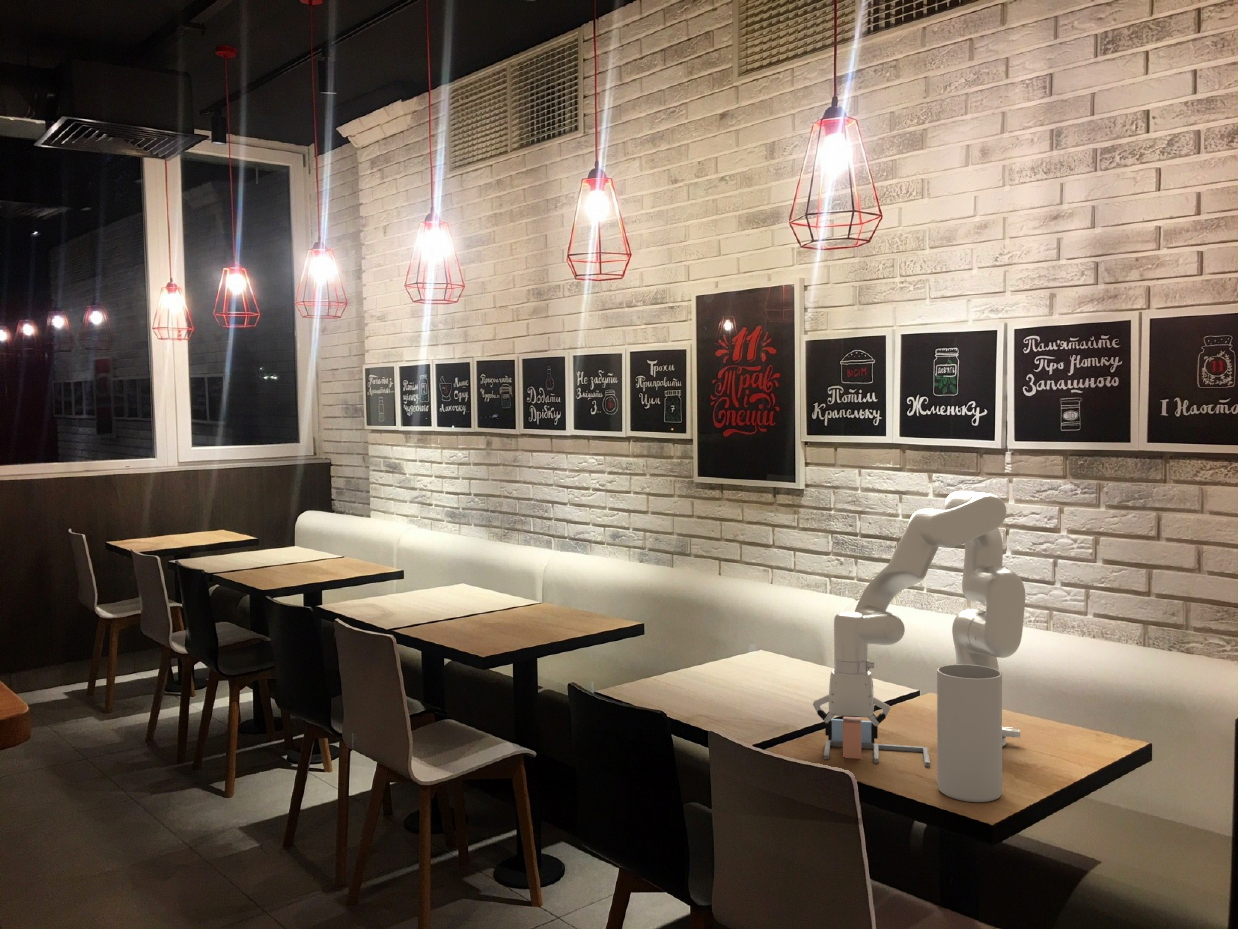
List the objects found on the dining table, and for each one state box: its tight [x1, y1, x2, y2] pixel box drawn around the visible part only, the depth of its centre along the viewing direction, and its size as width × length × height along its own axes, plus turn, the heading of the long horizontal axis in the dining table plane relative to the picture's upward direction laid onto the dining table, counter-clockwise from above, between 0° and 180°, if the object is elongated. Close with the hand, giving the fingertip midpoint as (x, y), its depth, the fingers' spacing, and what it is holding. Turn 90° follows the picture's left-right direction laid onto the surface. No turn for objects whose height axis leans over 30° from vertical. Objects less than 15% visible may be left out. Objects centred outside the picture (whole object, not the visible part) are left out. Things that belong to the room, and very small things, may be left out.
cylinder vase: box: [936, 663, 1003, 803], centre depth 199 cm, size 12×12×25 cm
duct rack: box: [823, 718, 931, 768], centre depth 223 cm, size 23×12×6 cm, turn 75°
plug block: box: [842, 716, 862, 760], centre depth 223 cm, size 4×5×8 cm
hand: (851, 740), depth 223 cm, fingers open, 9 cm apart
